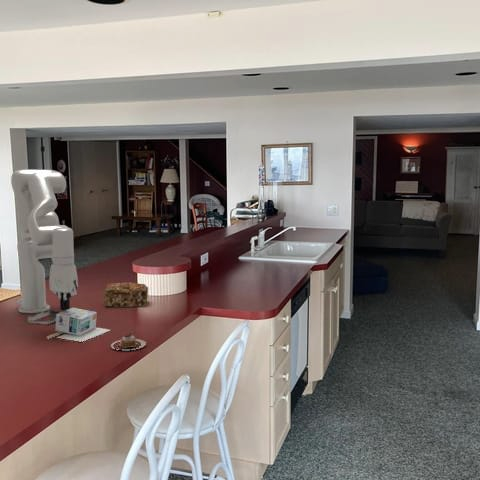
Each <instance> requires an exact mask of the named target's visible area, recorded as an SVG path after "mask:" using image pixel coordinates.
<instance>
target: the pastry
mask: <svg viewBox="0 0 480 480" xmlns="http://www.w3.org/2000/svg"><path fill="white" fill-rule="evenodd" d="M136 341H138V342H140V343H141V346H140V345H139V346H138V347H139V348H138V347H137V345H138V343H136ZM117 342H120V344H119V345H118V346H120V348H121V346H123V347H122V348H121V349H122V351H121V352H124V351H125V352H131V351H133V350H134V351H137V350H136V349H138V350H141V349H142V348H144V347H145V346H146V345H147V342H146V341H145V340H142V339H140V338H139V339H138V338H136V337H135V336H134V335H133V334H132V333H129V332H126V333H124V334H123V336H122V338H121V339H119V340H116V341H114V342H112V343H111V344H110V347H111V348H110V349H113V350H115V348H114V347H113V345H114V344H115V343H117ZM127 347H134V348H130V349H131V351H130V349H128V348H127ZM120 348H118V349H116V351H118V350H119V349H120ZM135 348H136V349H135ZM140 348H141V349H140Z"/></svg>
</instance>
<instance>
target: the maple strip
mask: <svg viewBox="0 0 480 480" xmlns="http://www.w3.org/2000/svg"><path fill="white" fill-rule="evenodd" d="M63 333H64V332H59V331H56V332H55V333H51V334H49V335H47V336H46V339H47V338H48V339H47V340H50V339H49V338H51V339H53V338H52V337H54V338H56V337H55V336H57V337H59V336H61V335H60V334H62V335H64V334H65V333H64V334H63ZM58 335H59V336H58Z"/></svg>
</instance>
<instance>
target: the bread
mask: <svg viewBox="0 0 480 480" xmlns="http://www.w3.org/2000/svg"><path fill="white" fill-rule="evenodd" d="M148 297H149V287H148V286H147V285H146V284H145V283H136V282H111V283H110V282H108V283H107V284H106V285H105V286H104V291H103V299H104V300H103V301H104V306H105V307H107V308H110V307H115V308H121V307H122V308H133V307H134V308H135V307H146V306H147V303H148Z"/></svg>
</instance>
